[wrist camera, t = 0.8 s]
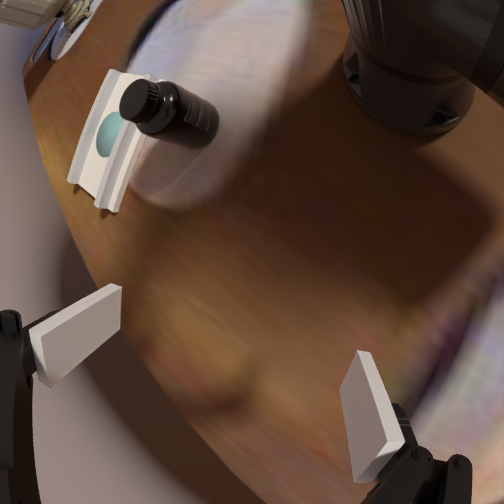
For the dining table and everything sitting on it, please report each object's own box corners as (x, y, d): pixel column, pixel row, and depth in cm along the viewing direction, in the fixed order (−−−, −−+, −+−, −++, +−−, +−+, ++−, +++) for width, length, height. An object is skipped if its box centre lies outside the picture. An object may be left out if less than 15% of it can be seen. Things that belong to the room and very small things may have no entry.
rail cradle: (118, 73, 42) (105, 68, 39) (171, 83, 37) (157, 75, 34) (77, 179, 48) (64, 177, 45) (118, 212, 43) (102, 212, 40)
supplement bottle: (198, 95, 35) (137, 61, 24) (230, 117, 34) (169, 80, 23) (170, 135, 38) (105, 113, 27) (199, 160, 36) (130, 140, 25)
